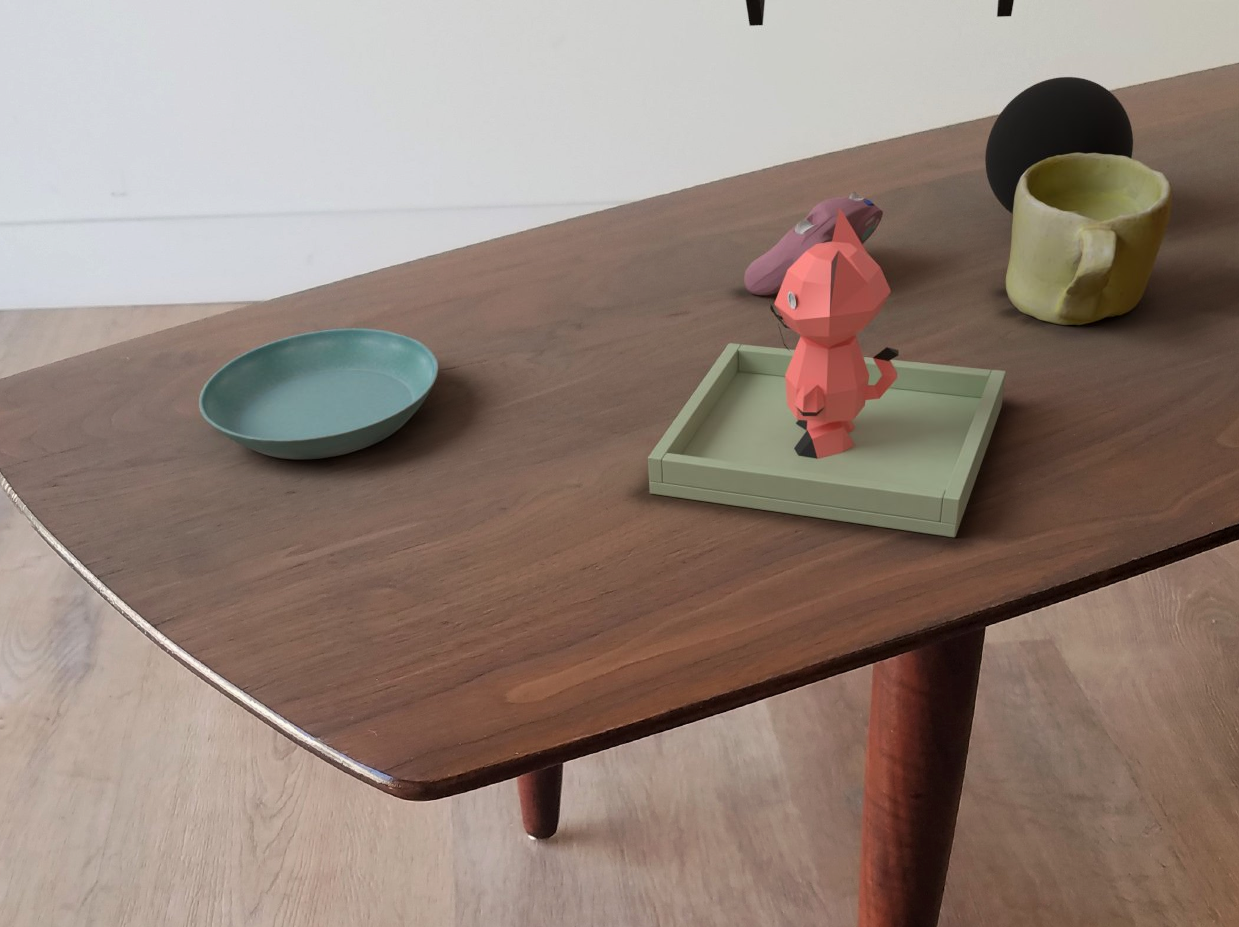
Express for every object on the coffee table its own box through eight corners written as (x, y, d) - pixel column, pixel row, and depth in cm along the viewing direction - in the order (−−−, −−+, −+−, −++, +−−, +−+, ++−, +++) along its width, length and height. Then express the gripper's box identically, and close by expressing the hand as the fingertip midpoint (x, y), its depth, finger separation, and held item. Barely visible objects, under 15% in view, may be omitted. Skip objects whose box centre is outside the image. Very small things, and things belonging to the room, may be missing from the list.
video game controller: (781, 327, 95) (823, 248, 89) (733, 286, 96) (771, 205, 90) (861, 278, 100) (905, 201, 94) (815, 240, 101) (856, 161, 95)
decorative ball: (1116, 197, 104) (1139, 58, 98) (1124, 248, 97) (1149, 101, 91) (980, 196, 107) (994, 60, 101) (977, 245, 99) (992, 102, 93)
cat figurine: (772, 406, 81) (774, 204, 74) (891, 406, 80) (905, 201, 72) (766, 467, 75) (768, 255, 68) (894, 468, 74) (910, 253, 67)
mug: (992, 233, 96) (1052, 105, 88) (1133, 287, 94) (1207, 163, 86) (948, 337, 89) (1009, 209, 81) (1099, 397, 88) (1177, 273, 79)
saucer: (192, 397, 90) (181, 360, 88) (408, 346, 93) (402, 310, 92) (230, 502, 79) (219, 461, 77) (474, 440, 82) (468, 399, 81)
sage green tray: (1001, 406, 80) (1006, 370, 79) (955, 538, 70) (959, 499, 69) (729, 376, 86) (729, 342, 85) (649, 493, 76) (647, 457, 74)
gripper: (1125, -311, 79) (1106, 37, 77) (693, -274, 84) (664, 52, 82) (1150, -428, 72) (1130, -47, 69) (676, -379, 77) (644, -25, 75)
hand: (877, 7), depth 76 cm, fingers open, 13 cm apart
